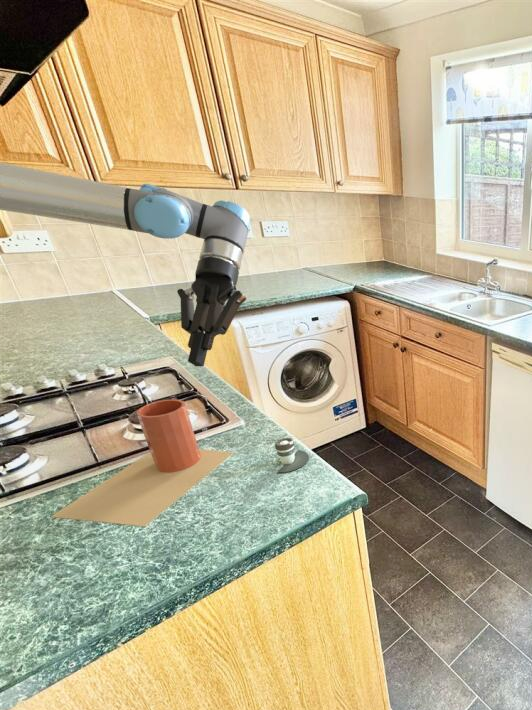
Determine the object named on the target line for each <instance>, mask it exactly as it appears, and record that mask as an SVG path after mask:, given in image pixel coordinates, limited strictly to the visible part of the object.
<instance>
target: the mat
mask: <svg viewBox="0 0 532 710" xmlns="http://www.w3.org/2000/svg"><path fill="white" fill-rule="evenodd" d="M199 451H200V454H201V458H200V460H199V461H198V462H197V463H196V464H194V465H193V466H191V467H189V468H186V469H184V470H180V471H176V472H161V471H159V470H158V469H157V468H156V466H155V463H154V460H153V458H152V455H151V452H150V451H149V452H147V453H146V454H144V455H143V456H142V457H140V458H138V459H137V460H134V462H131V464H129V465H128V466H125V468H123V469H121V470H120V471H119V472H117V473H115V474H113V475H112V476H110V477H109V478H108V479H106V480H104V481H103V482H101V483H100V484H98V485H97V486H96V487H95V486H94V488H92V489H91V490H89V491H87V492H86V493H84V494H83V495H81V496H80V497H79V498H77V499H75V500H74V501H72V502H71V503H69V504H68V505H66V506H65V507H63V508H61V509H60V510H58V511H57V512H56V513H54V514H53V515H51V516H50V518H58V519H68V520H76V521H85V522H86V521H87V522H96V523H97V522H98V523H104V524H106V523H107V524H114V525H115V524H116V525H123V526H125V525H126V526H134V527H146V526H148V525H149V524H150V523H152V521H154V520H155V519H156V518H157V517H159V516H160V515H161V514H162V513H163V512H165V511H166V510H167V509H168V508H170V507H171V506H172V505H173V504H174V503H176V502H177V501H178V500H179V499H180V498H181V497H183V496H184V495H185V494H187V492H189V491H190V490H191V489H192V488H193V487H195V486H196V485H197V484H198V483H200V481H202V480H203V479H204V478H206V477H207V476H208V475H210V473H211V472H213V471H214V470H215V469H217V468H218V467H219V466H220V465H221V464H222V463H223V462H225V461H226V460H227V459H229V458H230V457H231V456H232V455H234V454H235V452H233V451H222V450H211V449H201V448H199Z"/></svg>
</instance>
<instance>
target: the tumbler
mask: <svg viewBox="0 0 532 710" xmlns="http://www.w3.org/2000/svg"><path fill="white" fill-rule="evenodd" d="M188 412H189V411H188V408H187V405H186V403H185V401H184V400H181V399H175V398H172V399H162V400H158V401H153V402H149V403H147V404H145V405H144V406H141V407H140V408H138V409H137V410H136V416H137V420H138V422H139V425H140V427H141V430H142V434H143V436H144V439H145V441H146V443H147V447H148V449H149V452H151V455H152V458H153V460H154V463H155V466H156V468H157V469H158V470H159V471H161V472H176V471H180V470H184V469H186V468H189V467H191V466H193V465H194V464H196V463H197V462H198V461H199V460H200V458H201V454H200V451H199V449H200V448H199V445H198V442H197V438H196V434H195V432H194V429H193V425H192V422H191V418H190V416H189V413H188Z"/></svg>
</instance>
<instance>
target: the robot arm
mask: <svg viewBox="0 0 532 710" xmlns="http://www.w3.org/2000/svg"><path fill="white" fill-rule="evenodd" d="M0 211H6V212H13V213H18V214H23V215H24V214H25V215H31V216H37V217H42V218H43V217H45V218H49V219H57V220H63V221H70V222H76V223H81V224H82V223H83V224H90V225H94V226H95V225H96V226H102V227H108V228H113V229H120V230H127V231H133V232H138V233H143V234H148V235H151V236H152V237H155V238H159V239H168V240H169V239H170V240H171V239H176V238H179V237H182V235H184V234H186V235H189V236H192V237H196V238H198V239H202V240H203V242H202V246H201V249H200V254H199V257H198V258H199V259H198V261H197V265H196V269H195V274H194V277H195V279H194V281H193V282H192V283H191V284H190V286H191V287H189V288H186V289H183V288H179V289H177V291H176V292H177V295H178V297H179V298H180V327H181V329H182V330H183V331H185V332H187V334H189V338H188V343H187V347H188V348H189V349H190V350H189V355H188V359H187V362H188V363H190V364H191V365H193V366H195V367H204V366H205V362H206V357H207V354H208V351H211V350H212V349H213V345H214V340H215V338H216V337H217V336H219V335H222V336H224V335H226V333H228V330H229V328H230V326H231V324H232V322H233V320H234V318H235V316H236V314H237V312H238V310H239V309H240V306H241V305H242V304H244V302H245V301H246V300H247V297H246V295H244V294H243V292H242V291H240V290H237V287H236V286H237V284H238V280H239V275H240V270H241V265H242V261H243V257H244V252H245V247H246V244H247V239H248V235H249V232H250V225H251V224H250V222H251V217H250V214H249V212H248V211H247V210H246V209H245V208H244V207H242V206H241V205H239V204H238V203H237V202H233V201H230V200H228V201H225V200H217V201H216V202H214V203H213V205H209V204H206V203H202V202H200V201H197V200H194V199H192V198H189V197H187V196H183V195H181V194H179V193H176V192H174V191H171V190H168V189H167V188H164V187H160V186H156V185H153V184H150V183H143V184H142V185H141V186H140V188H139V189H136V188H131V187H129V188H128V187H126V186H122V185H121V186H120V185H115V184H111V183H106V182H101V181H96V180H91V179H85V178H81V177H76V176H72V175H66V174H62V173H56V172H50V171H45V170H41V169H35V168H31V167H26V166H22V165H16V164H11V163H6V162H2V161H0ZM195 296H196V298H195ZM194 301H195V302H196V305H195V304H194Z"/></svg>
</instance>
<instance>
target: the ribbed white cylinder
mask: <svg viewBox="0 0 532 710" xmlns="http://www.w3.org/2000/svg"><path fill="white" fill-rule="evenodd" d="M274 449H275V450H276V453H277V455H278V459H279V460H280V462H281V464H283V465H282V467H281V468H280V469H278V470H277V472H276V473H278V474H285V473H290V472H294V471H296V470H299V469H300V468H302V467H303V466H305V465H306V464H307V463H308V462H309V459H310V455H309V454H308V453H307V452H306V451H304V450H300V449H298V450H297V451H295V442H294V440H293V439H292V438H291V437H283V438H280V439H278V440H276V441H275V443H274Z"/></svg>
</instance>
